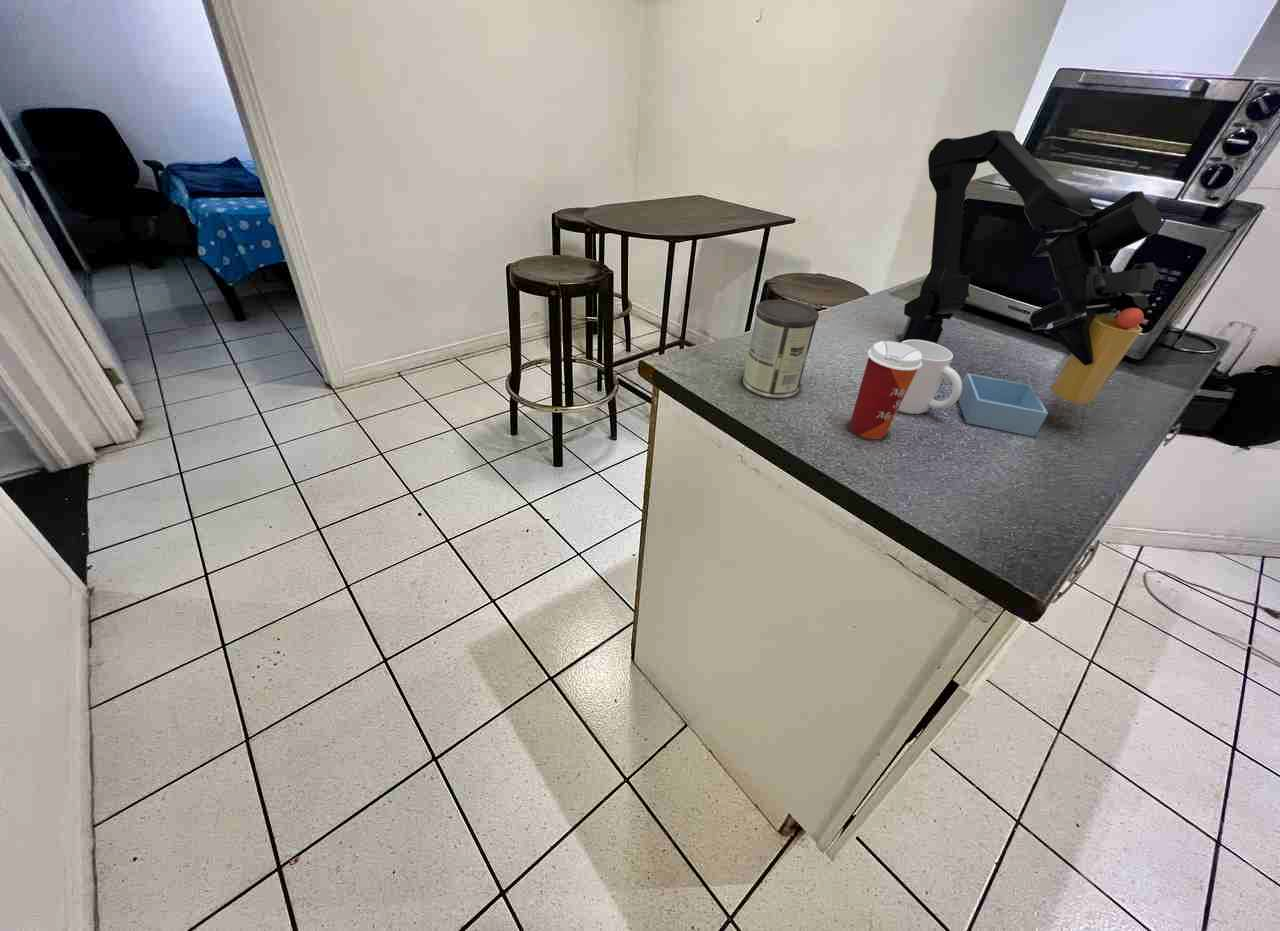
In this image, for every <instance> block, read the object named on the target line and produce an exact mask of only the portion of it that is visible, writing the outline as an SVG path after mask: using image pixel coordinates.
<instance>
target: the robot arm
mask: <svg viewBox="0 0 1280 931" xmlns="http://www.w3.org/2000/svg"><path fill="white" fill-rule="evenodd" d="M987 162H988V163H989V164H990V165H991V167H993V168H994V169H995V170H996V172H997V173H998V174H999V175H1000V176H1001V177H1002V179H1004V180H1005V182H1007V183H1008V185H1009V186H1010V188H1012V189H1013V190H1014V191H1015V193H1017V195H1018V196H1019V197H1020V198H1021V200H1022V202H1023V212H1024V215H1025V216H1026V218H1027V220H1028V222H1029V224H1030V226H1031V227H1032V229H1033V230H1034V231H1035V232H1037V233H1042V234H1044V233H1045V234H1046V233H1062V234H1060V235H1058V236H1057V237H1054V238H1053V239H1052V238H1043V239H1041V240H1040V241H1039V243H1038V246H1037V247H1036V248H1035V250H1034V251H1033V253H1032V257H1034V258H1035V257H1036V258H1038V257H1040V258H1041V257H1048V258H1049V262H1050V266H1051V269H1052V272H1053V276H1054V279H1055V280H1054V282H1052V283H1051V282H1050V283H1049V287H1050V290H1051V291H1058V294H1059V298H1060V299H1059V300H1057V301H1055V302H1052V303H1050V304H1048V305H1045V306H1043V307H1040V308H1038V309H1036V310H1033V311H1032V312H1031V314H1030V316H1029V318H1028V320H1029V325H1030V329H1031V331H1036V330H1044V329H1045V330H1044V333H1045V334H1049V335H1050V336H1051V337H1052V338H1054V339H1055V340H1056V341H1057V342H1058V343H1059V344H1061V345H1062V347H1064V348H1065V349H1067V351H1069V353H1070V354H1071V353H1072V354H1073V355H1074V356H1075V357H1076V358H1077V359H1078V360H1079V361H1080V362H1081V363H1083V364H1084V365H1090V364H1092V363H1093V352H1092V345H1091V339H1090V333H1089V327H1090V325H1091V324H1092V322H1093V320H1094V318H1095V316H1098V315H1099V316H1111V317H1116V318H1117V316H1118V314H1119V313H1120V312H1121V311H1123V310H1125V309H1127V308H1138V309H1140V310H1141V311H1142V310H1145V309H1147V308H1149V307H1150V303H1149V300H1148V295H1147V294H1144V293H1141V291H1142V292H1152V291H1153V288H1154V284H1155V283H1156V282H1158V281H1159V280H1160V279H1161V278H1162V275H1161V273H1159V268H1157V267H1156V265H1155V263H1154V262H1145V263H1136V264H1134V265H1133V266H1132V268H1131V269H1130V270H1123V271H1114V272H1113V268H1112V266H1109V265H1102V264H1101V260H1100V256H1099V253H1098V252H1102V253H1104V254H1106V255H1107V254H1108V255H1111V254H1113V253H1116V252H1119V251H1121V250H1122V249H1125V248H1127V247H1129V246H1131V245H1133V244H1136V243H1137V242H1140V241H1142V240H1144V239H1146V238H1148V237H1150V236H1153V235H1155V234H1157V233H1159V232H1160V230H1161V228H1162V224H1163V222H1162V221H1163V220H1162V219H1163V218H1162V215H1161V212H1160V210H1159V209H1157V208H1156V206H1155V205H1154V204H1153V202H1151V201H1150V200H1149V199H1148V198H1146V197H1145V193H1144V191H1143V190H1133V191H1130V192H1129V193H1127V194H1125V195H1124V196H1122V197H1121V198H1120V199H1118V200H1116V201H1115V202H1113V203H1110V204H1109V205H1108V206H1105V207H1103V208H1101V207H1099V206H1097V205H1094V204H1093V201H1092V199H1091V197H1090V196H1089V195H1087V194H1086V193H1084V192H1083V191H1081V190H1079V189H1078V188H1076V187H1074V186H1072V185H1070V184H1067V183H1065V182H1063V181H1060V180H1058V179H1056V178H1055V177H1053V176H1052V175H1051V174H1050V173H1049V171H1047V169H1046V168H1045V167H1044V166H1043V165H1042V164H1041V163H1040V162H1039V161H1038V160H1037V159H1036V158H1035V157H1034V156H1033V155H1032V154H1031V153H1030V152H1029V151H1028V149H1026V148H1025V147H1024V146H1023V144H1021V143H1020V141H1019V140H1017V138H1016V135H1015V133H1013V132H1012V131H1010V130H1000V129H991V130H988V131H985V132H982V133H979V134H975V135H971V136H966V137H965V136H964V137H961V138H954V137H947V138H942V139H940V140H939V141H938V142H937V143H936V144H934V146H933V148H932V149H930V151H929V154H928V158H927V164H928V166H927V167H928V179H929V181H930V183H931V185H932V187H933V189H934V191H935V208H934V221H933V222H934V223H933V235H932V247H931V259H930V260H931V262H930V270H929V272H928V274H927V276H926V277H925V279H924V280H923V282H922V284H921V287H920V292H919V296H917V297H915V298H913V299H912V300H911V301H908V302H906V303H905V304H904V308H903V309H904V310H903V315H904V316H906V317H907V320H906V323H905V326H904V328H903V331H902V333H900V334H899V340H900V343H901V342H903V341H905V340H924V341H929V342H932V343H936V344H938V342H939V340H940V337H941V335H942V332H943V331H944V328H943V326H942V325H943V323H944V320H951V318H952V317H953V316H954V315H955V314H956V313H958V312H959V311H960V310H961V309H963V307H964V306H965V305H966V302H967V298H970V291H969V288H970V284H971V276H970V275H963V273H962V270H961V269H960V259H961V246H962V234H963V225H964V211H965V198H966V190H967V187H968V186H969V185H970V182H971V181H972V179H973V177H974V176H975V174H976V172H977V168H978V165H981V164H984V163H987ZM1080 227H1082V228H1081V229H1080V230H1078V231H1074V230H1077V229H1079V228H1080ZM1050 324H1052V327H1050V328H1048V327H1049V325H1050ZM1047 328H1048V329H1047Z"/></svg>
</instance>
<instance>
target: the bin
mask: <svg viewBox="0 0 1280 931" xmlns="http://www.w3.org/2000/svg"><path fill="white" fill-rule="evenodd" d="M957 401H958V404H959V406H960V410H961V413H962V415H963V418H964V421H965V424H970V425H974V426H978V427H985V428H990V429H995V430H999V431H1003V432H1004V431H1006V432H1010V433H1014V434H1015V433H1016V434H1018V435H1019V434H1020V435H1025V436H1029V437H1035V436H1036V434H1037V433H1038V431H1039V429H1040V428H1041V426H1042V425H1043V423H1044V422H1045V420H1046V418H1047V416H1048V415H1049V412H1048V410H1047V409H1046V407H1045V405H1044V404H1043V402H1042V400H1041V398H1040V397H1039V395H1038V393H1037V392H1036V390H1035V388H1034V386H1033V385H1032V384H1028V383H1023V382H1018V381H1012V380H1007V379H1001V378H995V377H990V376H986V375H979V374H974V373H966V375H965V377H964V379H963V380H962V391H961V394H960V397H959V398H958V400H957Z"/></svg>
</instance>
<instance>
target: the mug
mask: <svg viewBox="0 0 1280 931" xmlns="http://www.w3.org/2000/svg"><path fill="white" fill-rule="evenodd" d="M900 343H902V344H906V345H909V346H911V347H913V348H915V349H917V350H918V351H919V352H920V353H921V354H922V359H921V361H922V366H921V368H919V369H918V370H917V372H916V374H915V376H914V378H913V380H912V382H911V384H910V386H909V388H908V390H907V392H906V394H905V396H904V398H903V400H902V402H901V404H900V406H899V408H898V410H897V412H900V413H903V414H908V415H919V414H920V415H921V414H923V413H925V412H927V411H928V410H929V409H930V408H932V409H936V410H943V409H947V408H950V407H952V406H953V405H954V404H955V403H956V402H957V401H958V398H959V397H960V394H961V391H962V383H963V380H962V377H961V376H960V375H959V373H958V372H957V371H956V370H955V369H954V368H953V367H951V366H950V364H951V362H952V360H953V359H954V354H953V352H952V351H951V350H950V349H948V348H946V347H945V346H943V345H941V344H939V343H937V344H936V343H932V342H929V341H924V340H905V341H903V342H901V341H900ZM944 378H947V379H948V380H949V381H950V382H951V385H952V390H951V393H950V395H949V396H948V397H947V398H946V399H944V400H938V399H935V397H936V395H937V393H938V391H939V389H940V387H941V384H942V382H943V380H944Z"/></svg>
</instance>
